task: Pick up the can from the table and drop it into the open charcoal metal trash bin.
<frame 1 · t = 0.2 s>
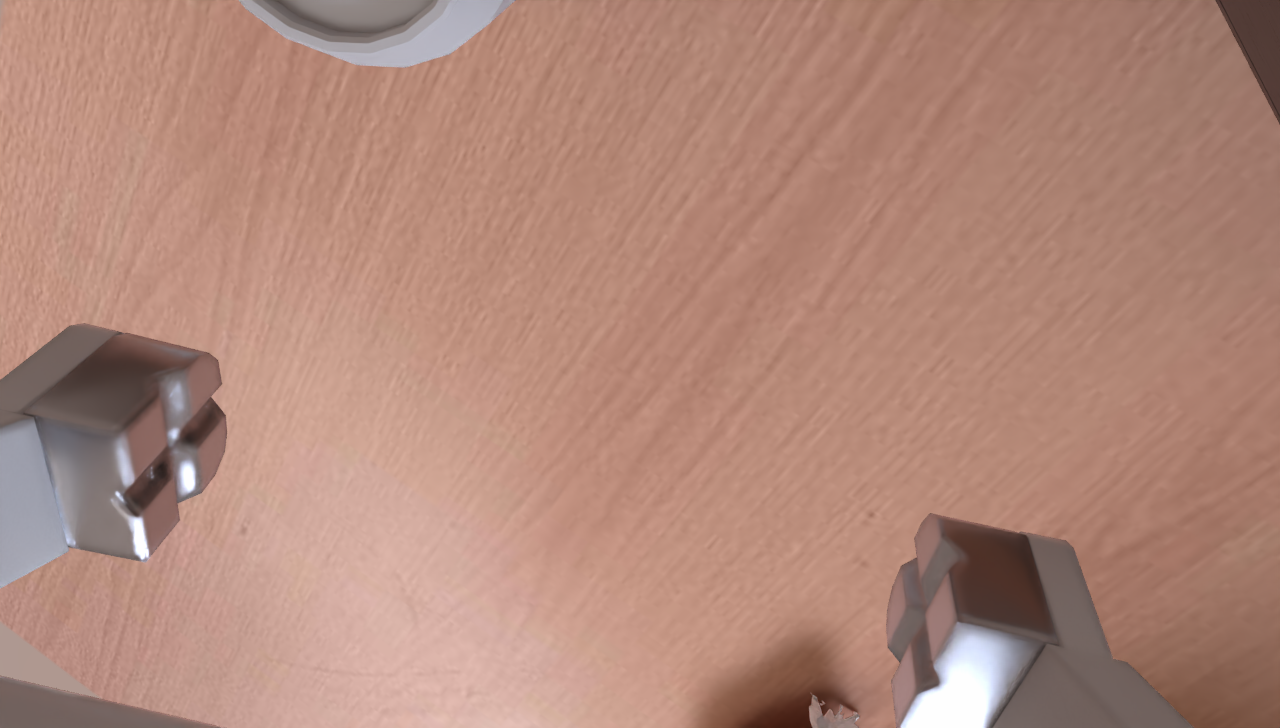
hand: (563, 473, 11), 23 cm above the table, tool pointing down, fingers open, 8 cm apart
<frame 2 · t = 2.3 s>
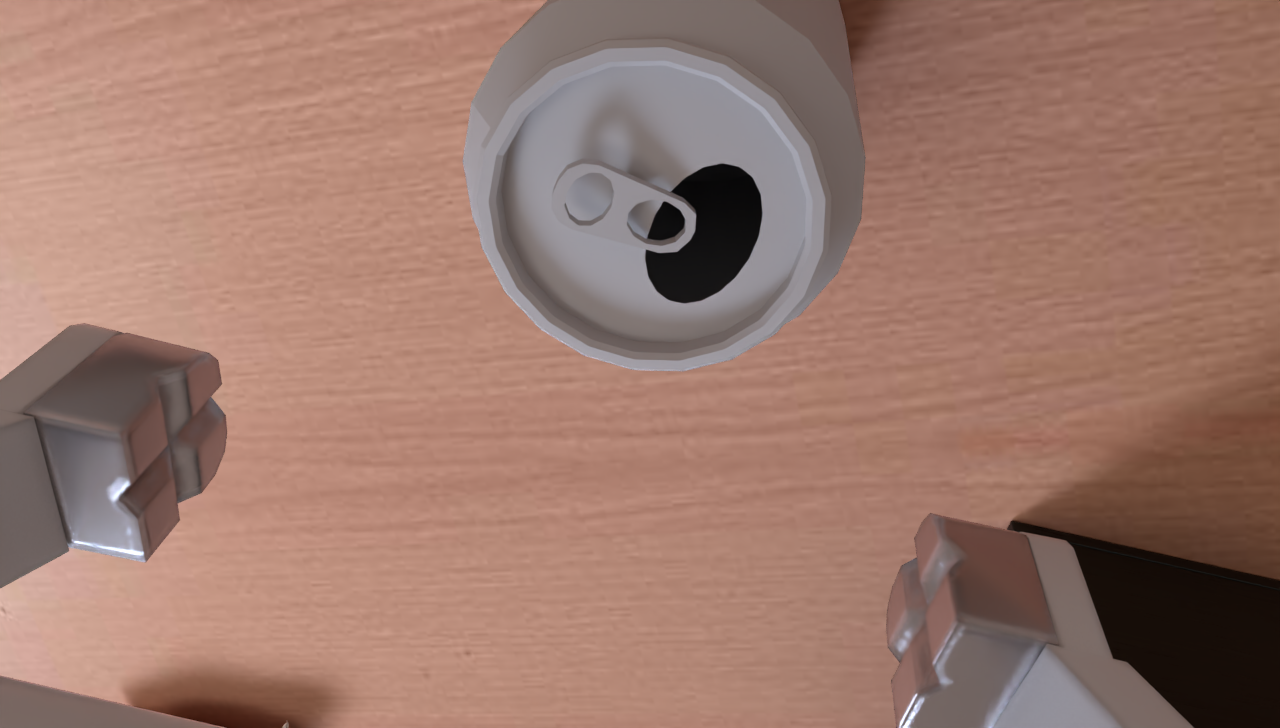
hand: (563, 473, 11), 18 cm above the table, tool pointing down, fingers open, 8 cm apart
bin: (1125, 699, 38), on the table
can: (706, 40, 26), on the table
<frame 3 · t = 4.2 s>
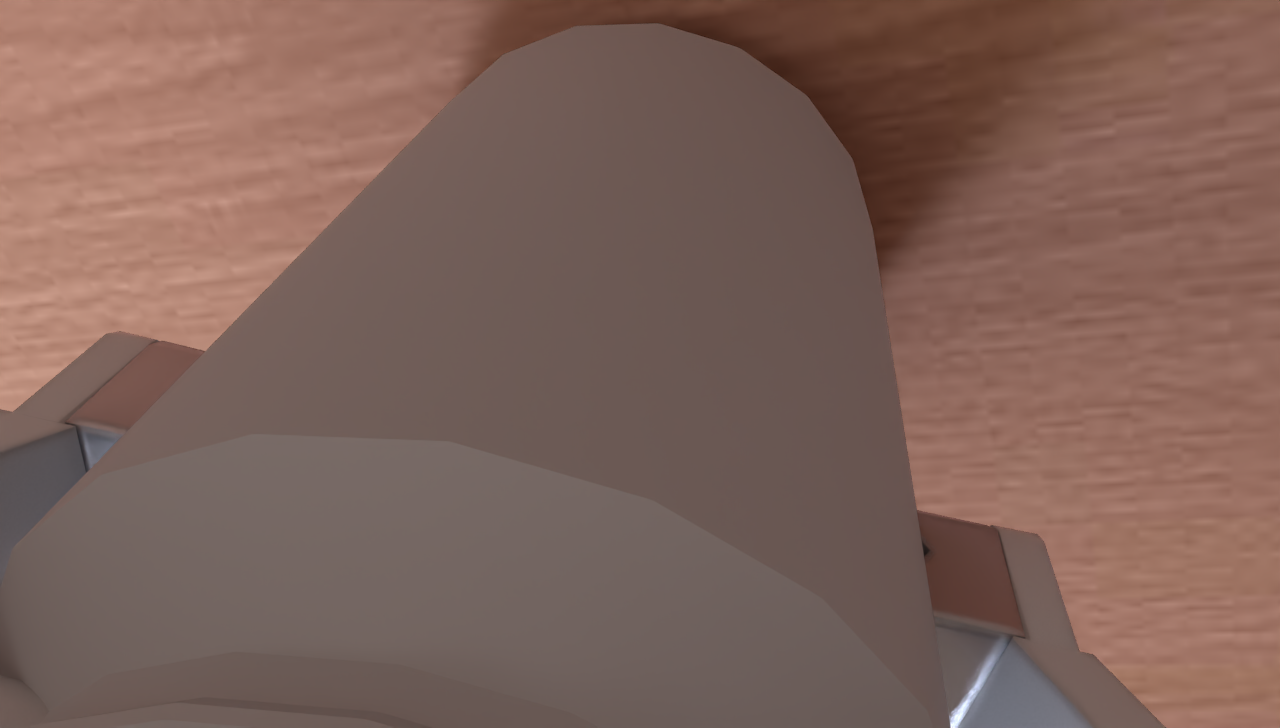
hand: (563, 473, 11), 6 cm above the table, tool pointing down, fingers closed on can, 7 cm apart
can: (643, 232, 16), on the table, touching gripper
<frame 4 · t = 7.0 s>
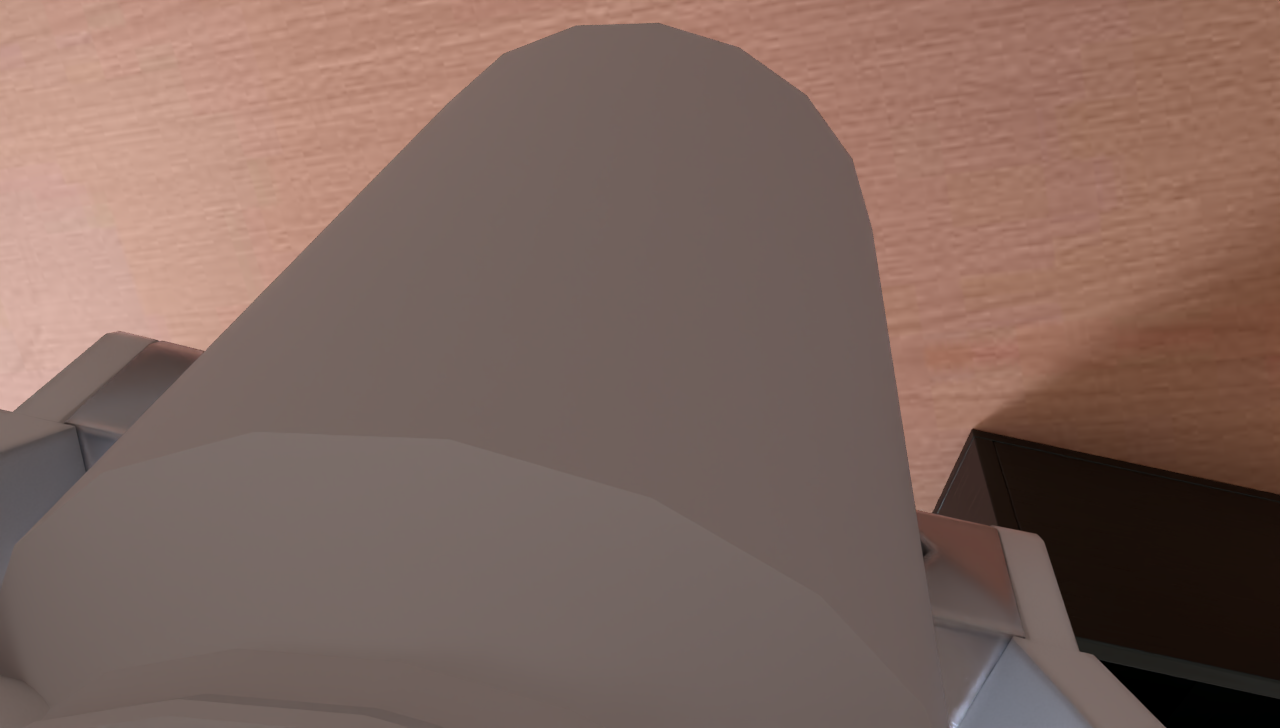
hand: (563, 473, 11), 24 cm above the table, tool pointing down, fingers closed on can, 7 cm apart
bin: (1077, 596, 42), on the table
can: (643, 232, 16), point 18 cm above the table, touching gripper
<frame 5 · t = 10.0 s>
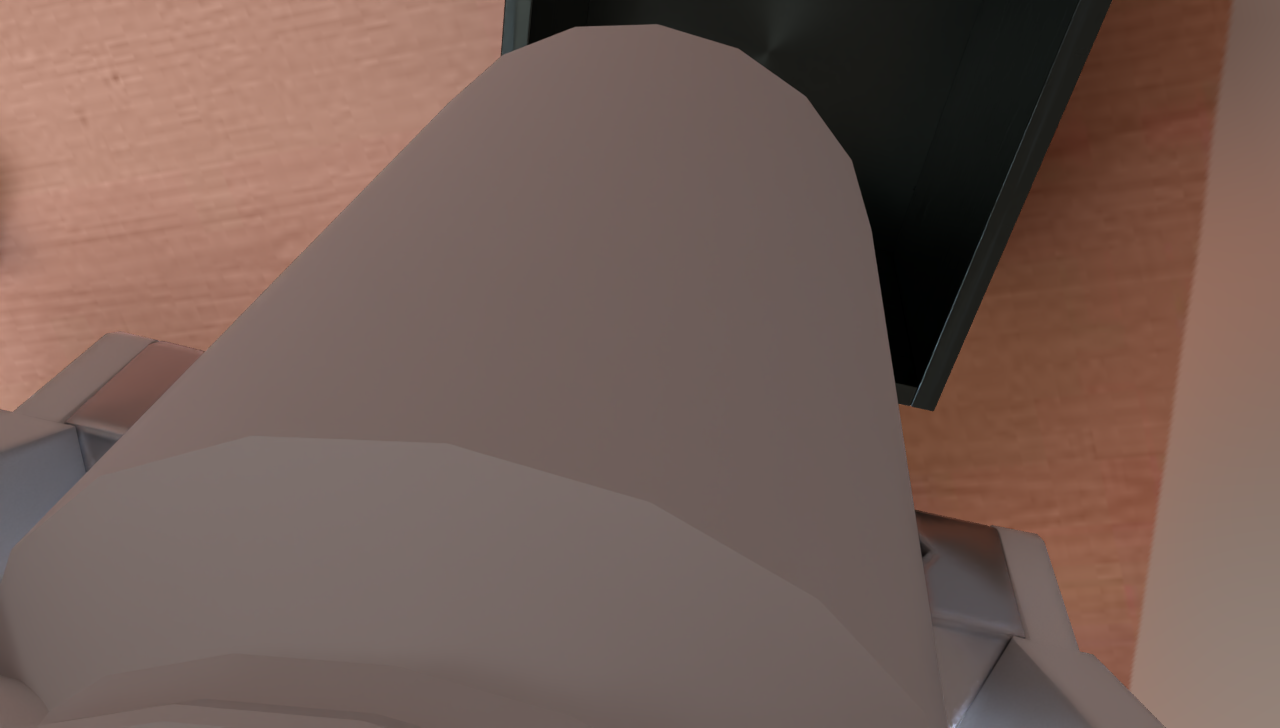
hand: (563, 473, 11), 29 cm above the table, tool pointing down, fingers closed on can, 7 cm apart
bin: (768, 47, 36), on the table
can: (643, 233, 16), point 22 cm above the table, touching gripper
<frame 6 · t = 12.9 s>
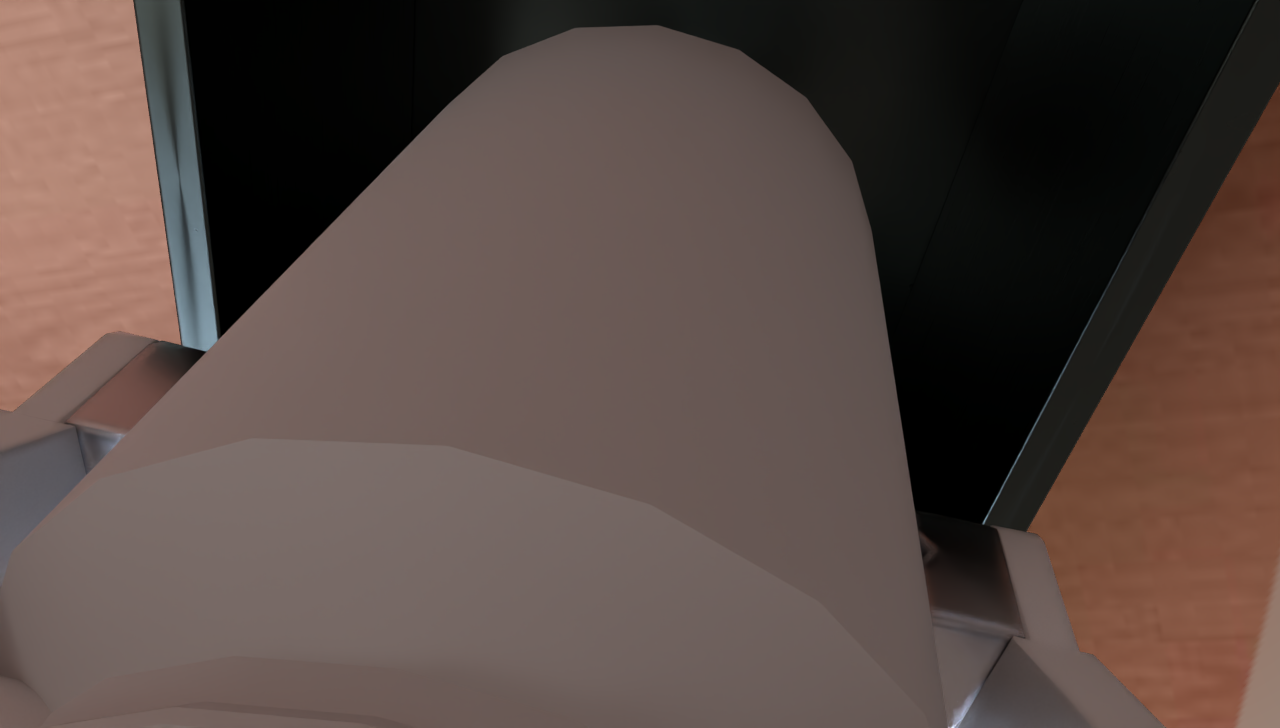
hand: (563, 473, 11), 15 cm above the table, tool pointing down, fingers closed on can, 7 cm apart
bin: (690, 80, 23), on the table
can: (643, 234, 16), point 9 cm above the table, touching gripper
when the fingers open (8 cm above the table, at t = 15.6 s): can drops 1 cm, resting on bin.
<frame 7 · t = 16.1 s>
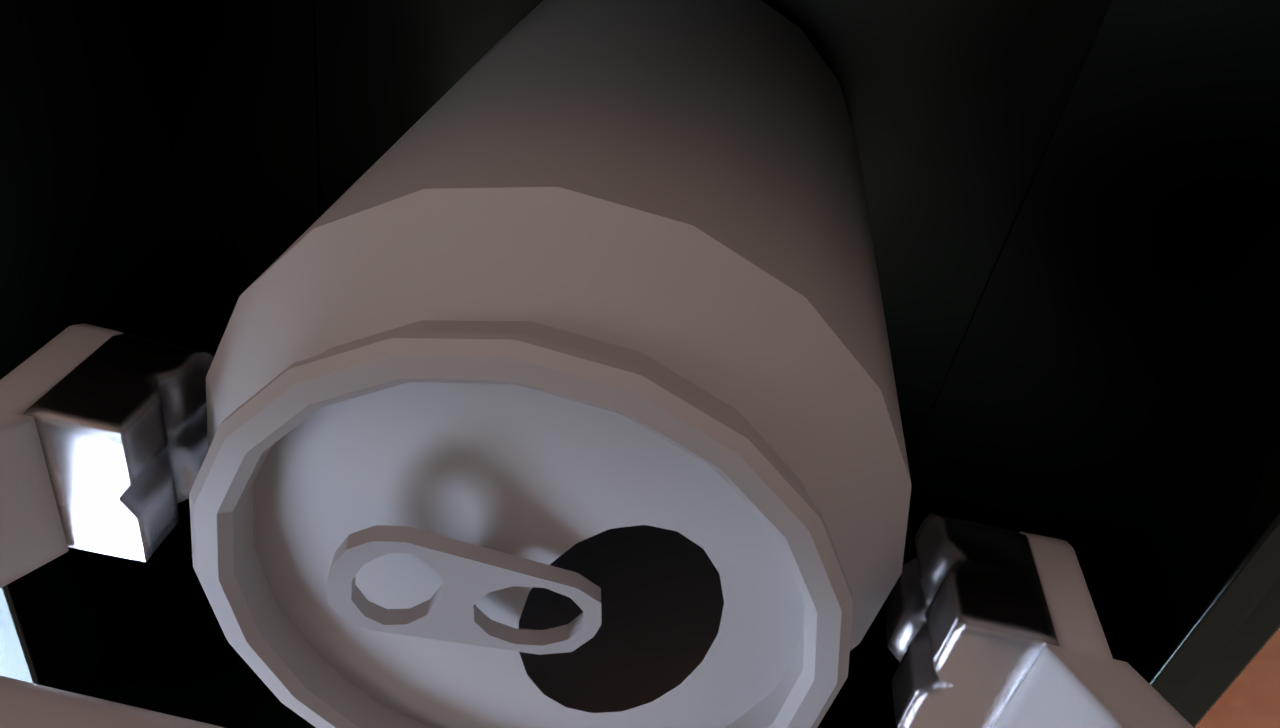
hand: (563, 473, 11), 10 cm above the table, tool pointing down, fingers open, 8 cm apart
bin: (661, 158, 19), on the table
can: (662, 157, 18), resting on bin
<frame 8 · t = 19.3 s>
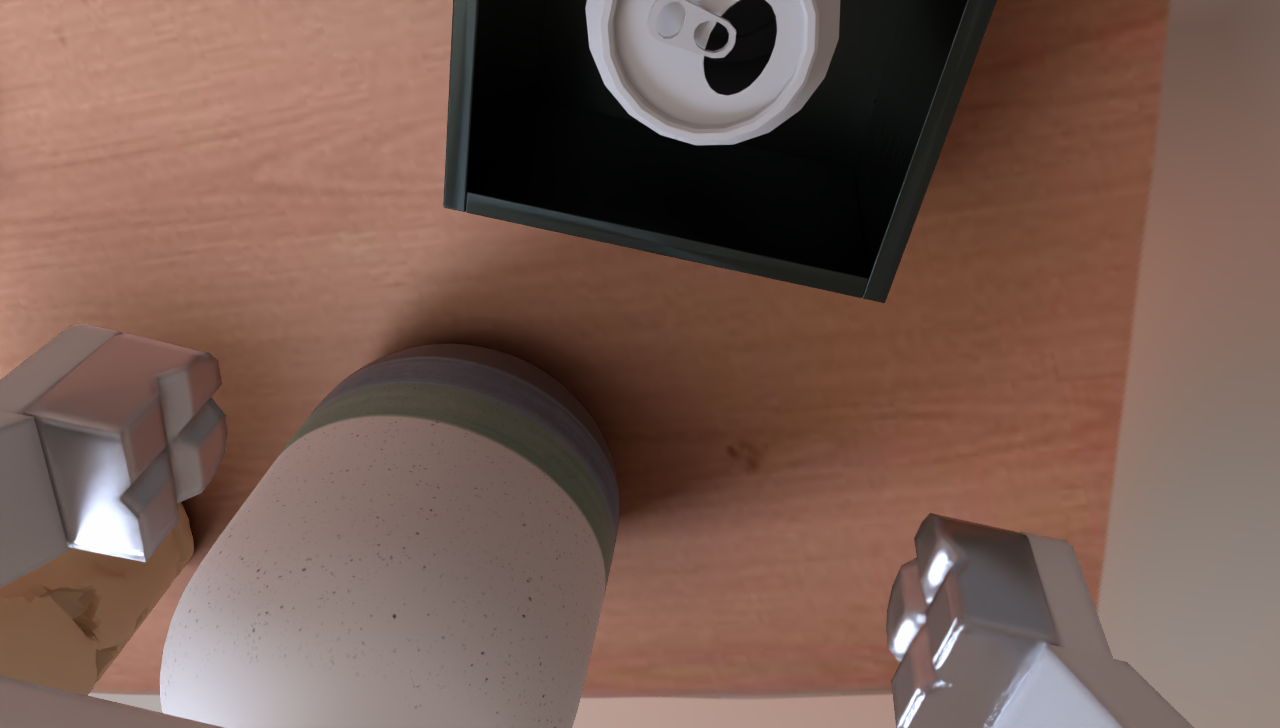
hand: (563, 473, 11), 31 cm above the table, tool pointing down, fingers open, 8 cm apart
vase: (484, 439, 52), on the table
container: (106, 501, 59), on the table
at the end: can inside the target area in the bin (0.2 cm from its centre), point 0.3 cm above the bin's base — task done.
